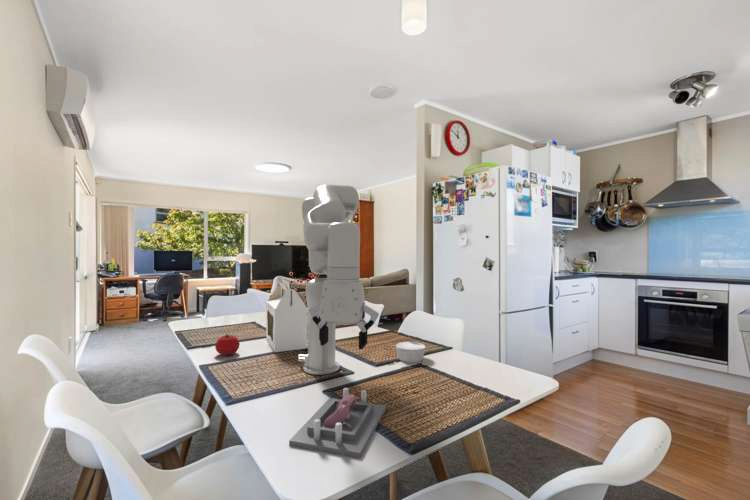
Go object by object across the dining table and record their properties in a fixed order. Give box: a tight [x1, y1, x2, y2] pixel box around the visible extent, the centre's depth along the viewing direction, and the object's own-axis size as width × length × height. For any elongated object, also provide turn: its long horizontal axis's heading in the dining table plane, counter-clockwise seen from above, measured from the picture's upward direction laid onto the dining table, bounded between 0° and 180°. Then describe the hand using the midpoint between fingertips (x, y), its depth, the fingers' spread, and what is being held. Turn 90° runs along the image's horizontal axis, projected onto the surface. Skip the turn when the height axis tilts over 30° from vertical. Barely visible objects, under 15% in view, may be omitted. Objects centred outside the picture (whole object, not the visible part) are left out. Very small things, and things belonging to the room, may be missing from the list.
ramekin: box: [395, 341, 427, 364], centre depth 133 cm, size 11×11×5 cm
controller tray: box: [288, 387, 387, 459], centre depth 83 cm, size 16×22×5 cm
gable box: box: [265, 278, 308, 353], centre depth 152 cm, size 22×13×28 cm, turn 26°
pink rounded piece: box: [324, 393, 358, 429], centre depth 83 cm, size 10×5×7 cm, turn 166°
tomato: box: [214, 333, 240, 356], centre depth 137 cm, size 9×9×8 cm
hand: (342, 345), depth 83 cm, fingers open, 9 cm apart
